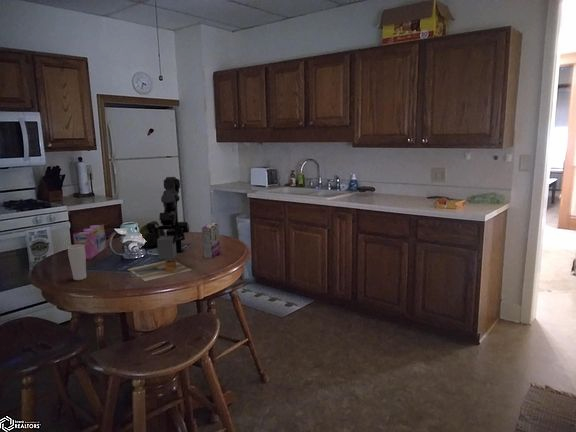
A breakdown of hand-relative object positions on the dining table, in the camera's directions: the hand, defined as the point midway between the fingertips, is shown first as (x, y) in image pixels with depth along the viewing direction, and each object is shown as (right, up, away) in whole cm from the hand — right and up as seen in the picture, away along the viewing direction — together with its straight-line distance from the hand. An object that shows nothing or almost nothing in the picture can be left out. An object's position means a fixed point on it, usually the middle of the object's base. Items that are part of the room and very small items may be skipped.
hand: (165, 243), depth 192 cm
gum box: (-51, -8, +37) cm, 63 cm away
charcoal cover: (0, -6, +3) cm, 7 cm away
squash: (-22, -5, +49) cm, 54 cm away
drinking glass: (-37, -16, -4) cm, 41 cm away
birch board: (-4, -13, +5) cm, 14 cm away
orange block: (+1, -12, +4) cm, 13 cm away
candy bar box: (+16, -8, +26) cm, 32 cm away
